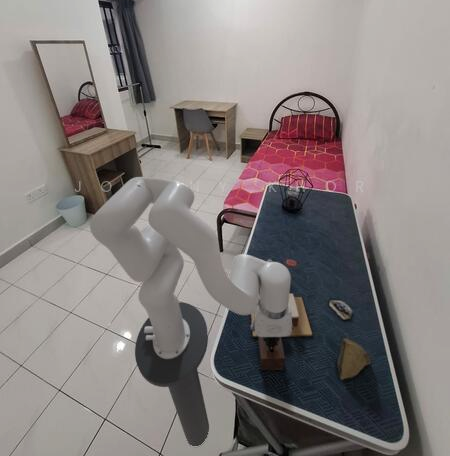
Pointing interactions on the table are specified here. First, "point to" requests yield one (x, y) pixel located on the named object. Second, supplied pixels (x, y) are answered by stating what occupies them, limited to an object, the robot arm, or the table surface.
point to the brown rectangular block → (293, 310)
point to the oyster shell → (341, 309)
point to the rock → (351, 359)
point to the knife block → (271, 355)
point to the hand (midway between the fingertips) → (270, 339)
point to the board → (303, 322)
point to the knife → (271, 343)
